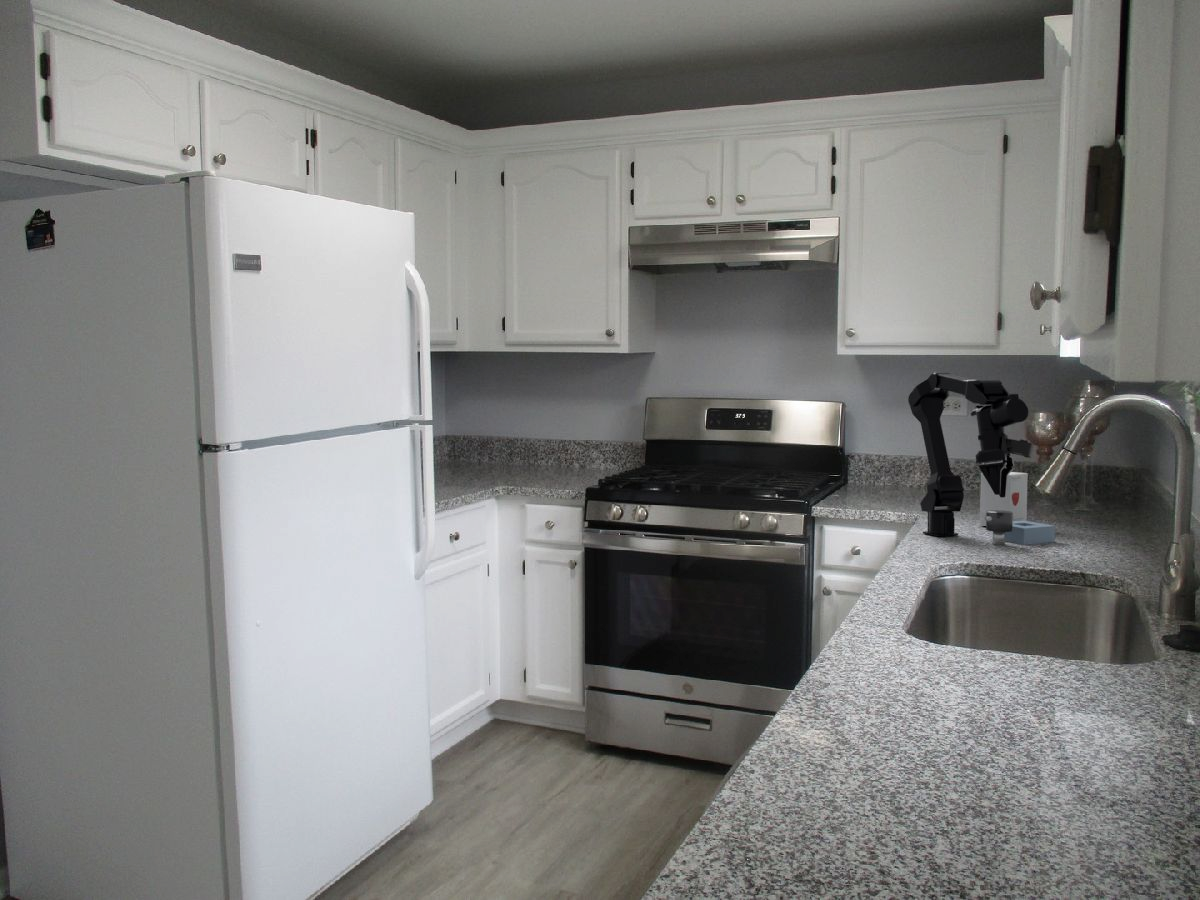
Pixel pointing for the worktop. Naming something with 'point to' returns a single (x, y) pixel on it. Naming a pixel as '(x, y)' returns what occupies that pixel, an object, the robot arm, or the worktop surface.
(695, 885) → the worktop surface
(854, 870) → the worktop surface
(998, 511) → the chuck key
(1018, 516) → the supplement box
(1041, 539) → the block
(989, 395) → the robot arm
